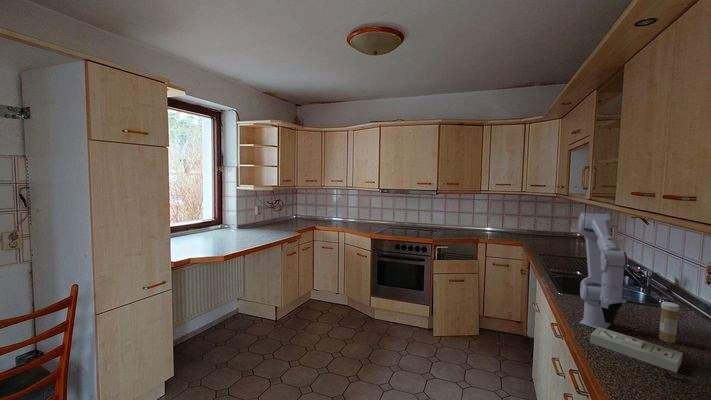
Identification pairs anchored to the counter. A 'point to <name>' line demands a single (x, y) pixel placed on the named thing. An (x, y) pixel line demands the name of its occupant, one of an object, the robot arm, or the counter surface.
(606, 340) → the button board
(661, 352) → the tile two pips
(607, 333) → the tile three pips
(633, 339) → the tile one pip
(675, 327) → the sprinkles bottle
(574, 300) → the counter surface
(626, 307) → the counter surface
